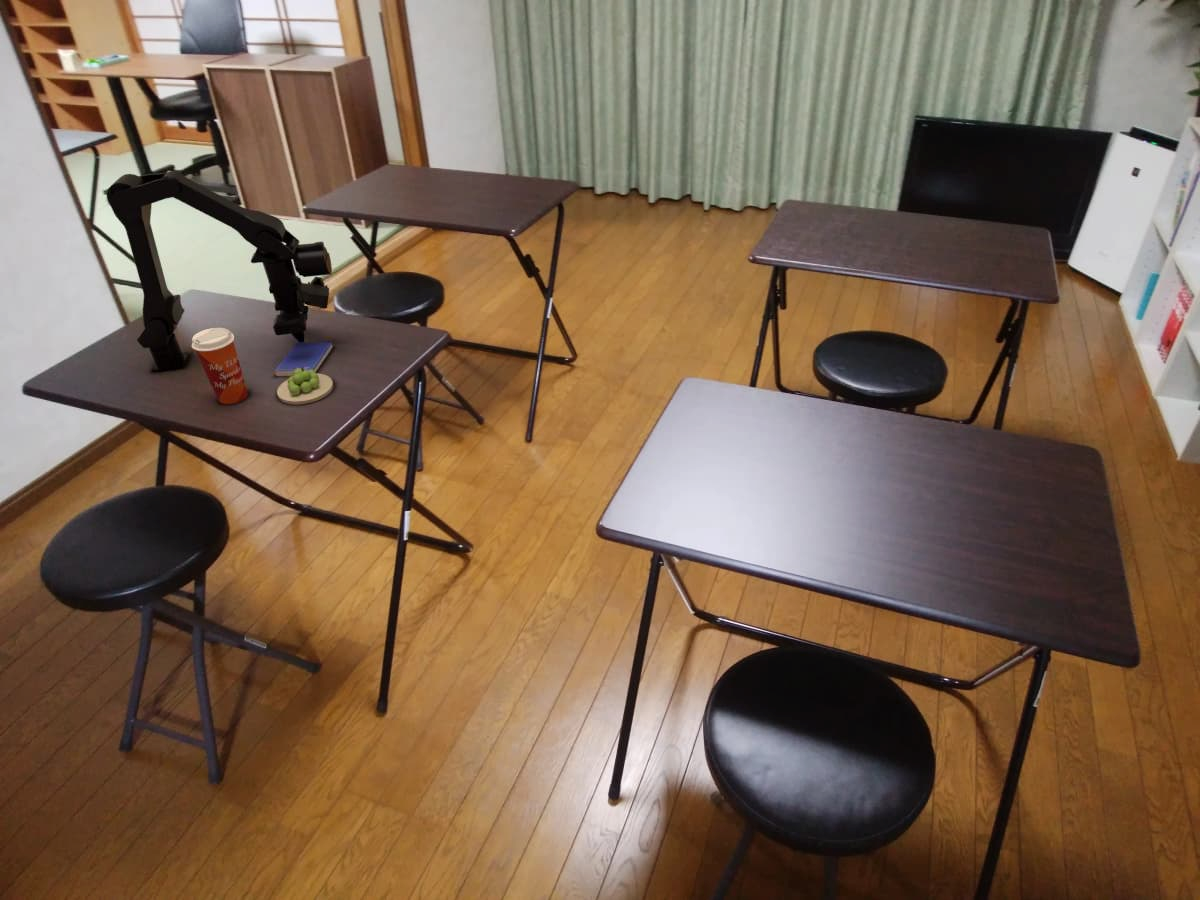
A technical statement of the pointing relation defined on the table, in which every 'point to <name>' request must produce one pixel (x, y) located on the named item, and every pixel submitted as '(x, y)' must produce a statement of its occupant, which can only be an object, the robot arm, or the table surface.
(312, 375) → the green grapes
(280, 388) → the grape saucer
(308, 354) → the blue book
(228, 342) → the paper cup
